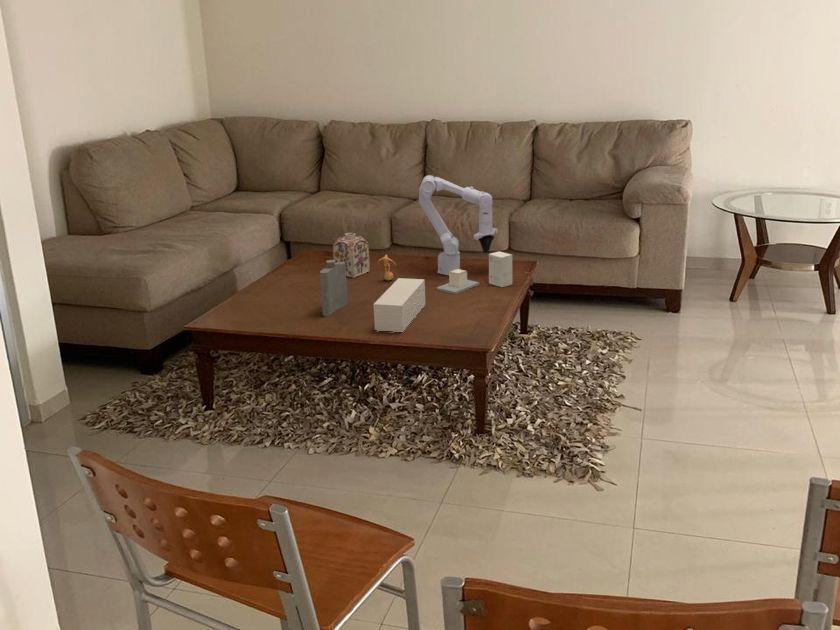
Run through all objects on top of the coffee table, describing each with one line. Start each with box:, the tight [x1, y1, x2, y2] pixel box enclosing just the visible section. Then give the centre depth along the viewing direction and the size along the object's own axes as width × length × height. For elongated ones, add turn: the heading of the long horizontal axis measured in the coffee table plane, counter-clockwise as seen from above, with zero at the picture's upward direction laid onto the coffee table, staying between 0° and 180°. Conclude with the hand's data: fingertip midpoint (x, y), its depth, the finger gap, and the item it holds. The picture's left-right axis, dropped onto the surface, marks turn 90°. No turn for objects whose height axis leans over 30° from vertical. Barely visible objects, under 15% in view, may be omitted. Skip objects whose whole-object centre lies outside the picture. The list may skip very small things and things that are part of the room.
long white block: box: [373, 277, 426, 333], centre depth 335 cm, size 32×11×11 cm, turn 165°
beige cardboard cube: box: [448, 268, 468, 288], centre depth 369 cm, size 5×5×6 cm
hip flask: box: [319, 259, 349, 316], centre depth 345 cm, size 16×4×20 cm, turn 154°
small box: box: [488, 250, 513, 288], centre depth 370 cm, size 8×6×13 cm
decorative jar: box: [332, 232, 371, 279], centre depth 391 cm, size 12×12×18 cm
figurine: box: [377, 254, 397, 281], centre depth 379 cm, size 8×6×12 cm
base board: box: [436, 279, 480, 295], centre depth 370 cm, size 10×16×1 cm, turn 138°
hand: (485, 252), depth 385 cm, fingers closed
